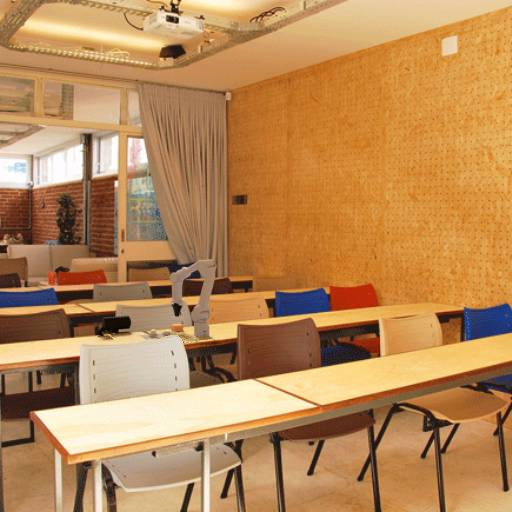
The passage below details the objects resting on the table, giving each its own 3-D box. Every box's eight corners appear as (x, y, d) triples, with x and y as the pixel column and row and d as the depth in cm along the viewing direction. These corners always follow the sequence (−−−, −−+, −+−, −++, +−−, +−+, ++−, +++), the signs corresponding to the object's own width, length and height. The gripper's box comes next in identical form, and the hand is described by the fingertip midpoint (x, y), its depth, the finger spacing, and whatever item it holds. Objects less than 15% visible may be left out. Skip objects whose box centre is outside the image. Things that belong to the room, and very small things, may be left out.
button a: (169, 334, 356) (169, 331, 356) (165, 334, 355) (165, 331, 355) (168, 333, 358) (168, 330, 358) (164, 334, 357) (164, 330, 357)
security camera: (96, 334, 362) (96, 317, 361) (128, 332, 370) (128, 315, 369) (99, 337, 356) (98, 319, 355) (131, 334, 364) (131, 317, 363)
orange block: (183, 332, 369) (183, 325, 369) (174, 333, 366) (174, 325, 366) (179, 331, 374) (179, 323, 373) (171, 332, 371) (171, 324, 371)
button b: (156, 333, 352) (156, 330, 352) (151, 334, 351) (151, 330, 351) (154, 333, 354) (154, 329, 354) (150, 333, 353) (150, 329, 353)
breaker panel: (180, 338, 354) (180, 333, 354) (146, 341, 345) (146, 336, 345) (173, 334, 365) (173, 329, 364) (139, 337, 355) (139, 332, 355)
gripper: (166, 292, 373) (166, 314, 374) (175, 295, 360) (175, 318, 361) (177, 291, 376) (177, 314, 377) (186, 294, 363) (186, 317, 364)
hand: (177, 316), depth 369 cm, fingers closed
